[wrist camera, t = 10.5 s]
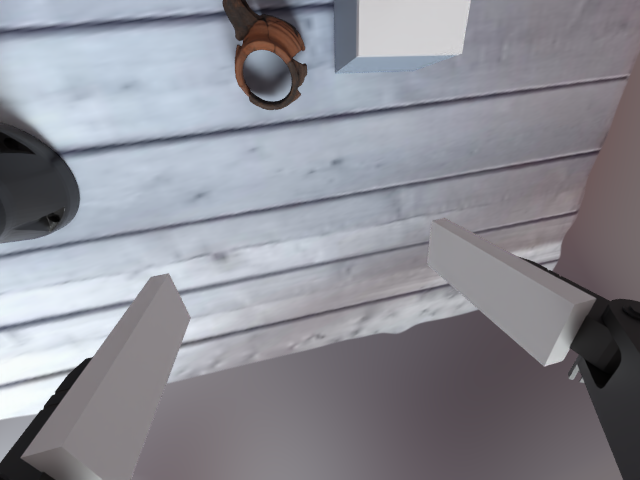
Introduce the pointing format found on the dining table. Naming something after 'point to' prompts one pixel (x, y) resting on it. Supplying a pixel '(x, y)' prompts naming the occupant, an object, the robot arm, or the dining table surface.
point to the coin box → (397, 33)
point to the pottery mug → (265, 47)
